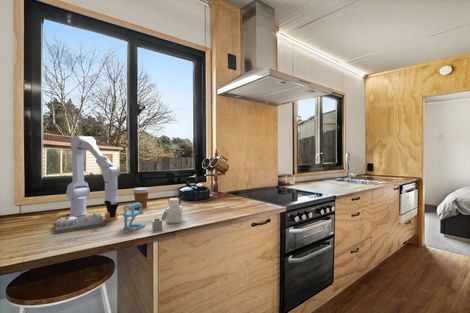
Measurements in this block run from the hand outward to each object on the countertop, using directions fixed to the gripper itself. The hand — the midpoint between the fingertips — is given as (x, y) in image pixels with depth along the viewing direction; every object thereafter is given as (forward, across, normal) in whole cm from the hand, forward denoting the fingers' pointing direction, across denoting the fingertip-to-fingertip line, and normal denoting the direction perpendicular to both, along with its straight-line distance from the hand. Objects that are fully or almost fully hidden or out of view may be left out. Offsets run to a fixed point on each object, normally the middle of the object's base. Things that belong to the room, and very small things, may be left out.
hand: (111, 215), depth 123 cm
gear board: (+2, 0, +14) cm, 14 cm away
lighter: (+3, -28, -16) cm, 33 cm away
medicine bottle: (+3, -20, -26) cm, 33 cm away
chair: (+2, -19, -6) cm, 20 cm away
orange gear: (+2, 0, 0) cm, 2 cm away
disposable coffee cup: (+2, +18, -20) cm, 27 cm away
